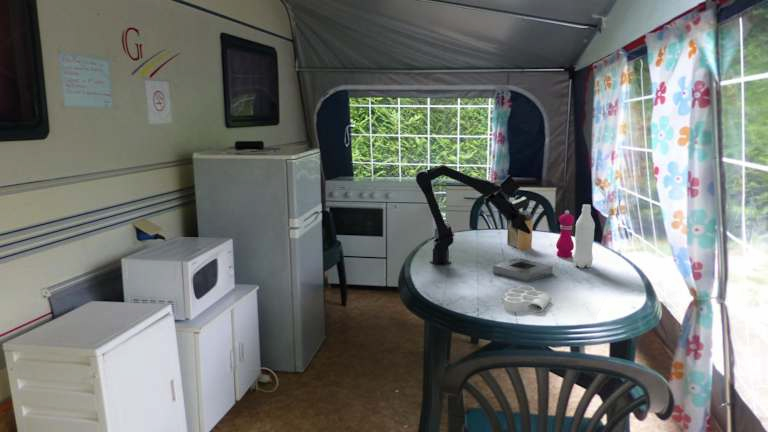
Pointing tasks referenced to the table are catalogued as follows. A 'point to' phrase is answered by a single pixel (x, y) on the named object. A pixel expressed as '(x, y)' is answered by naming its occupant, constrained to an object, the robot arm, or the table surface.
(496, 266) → the grey square frame
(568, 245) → the pepper mill
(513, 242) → the coffee box
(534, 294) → the white flat lumpy part
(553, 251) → the table surface
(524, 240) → the plug
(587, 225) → the water bottle
